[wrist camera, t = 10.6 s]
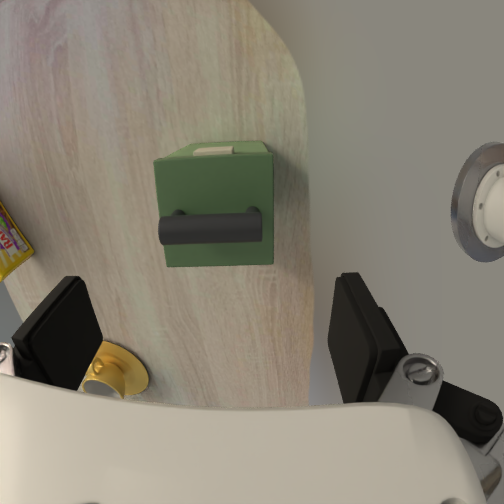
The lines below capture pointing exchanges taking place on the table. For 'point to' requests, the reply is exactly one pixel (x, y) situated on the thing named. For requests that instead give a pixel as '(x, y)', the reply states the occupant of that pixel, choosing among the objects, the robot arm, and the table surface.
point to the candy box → (11, 245)
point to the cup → (115, 373)
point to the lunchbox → (216, 204)
